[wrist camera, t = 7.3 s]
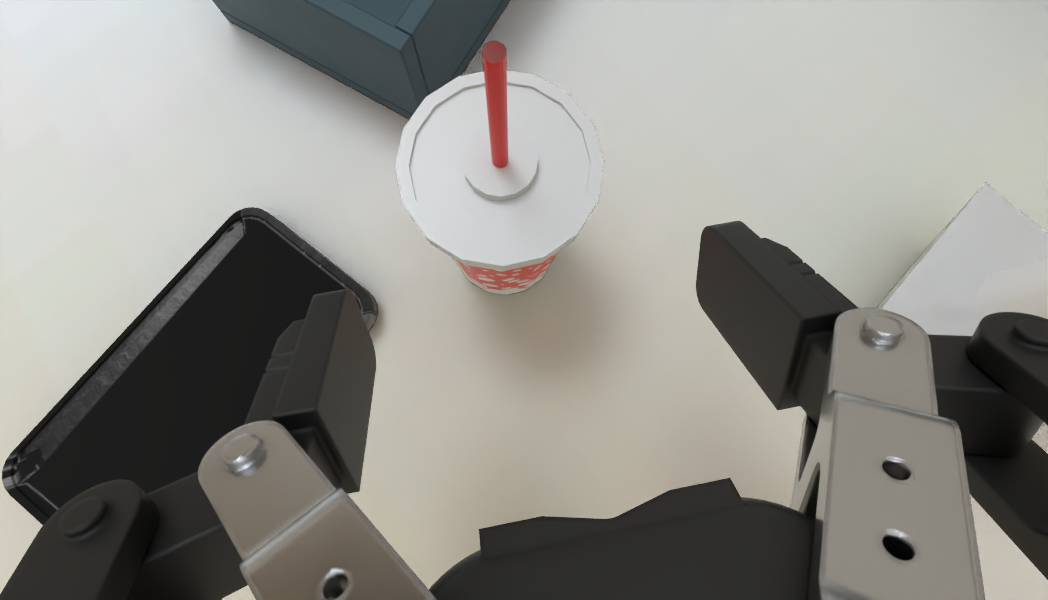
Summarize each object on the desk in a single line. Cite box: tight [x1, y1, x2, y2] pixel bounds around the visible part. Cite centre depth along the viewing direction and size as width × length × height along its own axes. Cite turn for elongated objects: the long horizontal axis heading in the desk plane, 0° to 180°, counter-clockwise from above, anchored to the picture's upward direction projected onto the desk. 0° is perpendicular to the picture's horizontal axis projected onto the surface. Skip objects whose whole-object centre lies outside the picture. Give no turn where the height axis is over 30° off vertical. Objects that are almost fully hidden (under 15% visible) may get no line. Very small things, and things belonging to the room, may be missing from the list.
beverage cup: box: [395, 41, 604, 295], centre depth 17 cm, size 6×6×14 cm
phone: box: [2, 207, 377, 525], centre depth 21 cm, size 8×1×15 cm
